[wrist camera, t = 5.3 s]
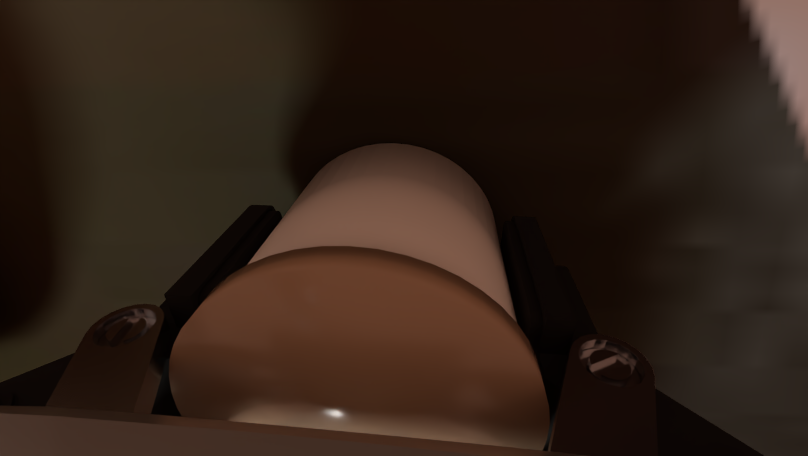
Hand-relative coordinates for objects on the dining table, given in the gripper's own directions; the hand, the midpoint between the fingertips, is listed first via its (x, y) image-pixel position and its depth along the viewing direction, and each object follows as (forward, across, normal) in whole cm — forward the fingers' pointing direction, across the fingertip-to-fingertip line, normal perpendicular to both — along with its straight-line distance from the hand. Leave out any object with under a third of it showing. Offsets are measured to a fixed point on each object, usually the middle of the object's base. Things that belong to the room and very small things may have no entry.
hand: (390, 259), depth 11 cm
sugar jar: (+1, 0, 0) cm, 1 cm away
